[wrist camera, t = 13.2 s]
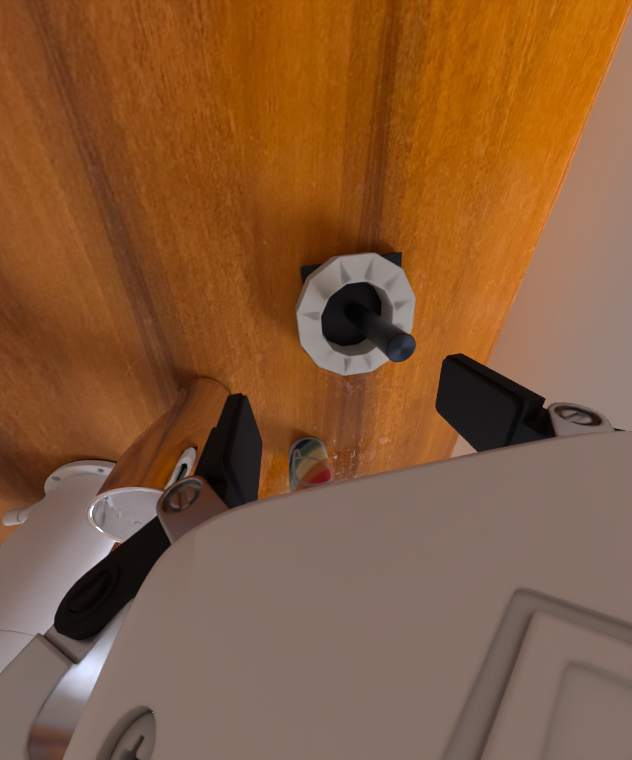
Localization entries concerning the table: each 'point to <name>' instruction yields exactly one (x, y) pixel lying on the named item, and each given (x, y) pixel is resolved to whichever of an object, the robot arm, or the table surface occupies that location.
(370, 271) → the tape roll
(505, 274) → the table surface
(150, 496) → the beer glass
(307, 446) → the lotion bottle
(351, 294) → the post
